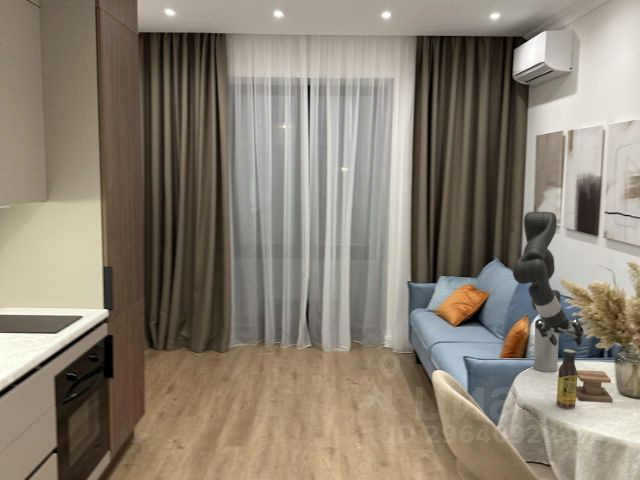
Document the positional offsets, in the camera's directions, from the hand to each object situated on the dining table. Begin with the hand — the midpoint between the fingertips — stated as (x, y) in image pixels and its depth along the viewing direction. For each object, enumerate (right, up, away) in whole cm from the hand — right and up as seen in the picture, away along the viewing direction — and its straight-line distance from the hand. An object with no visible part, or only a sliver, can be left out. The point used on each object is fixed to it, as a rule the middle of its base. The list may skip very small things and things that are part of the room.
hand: (567, 343), depth 207 cm
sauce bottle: (+1, -22, +3) cm, 23 cm away
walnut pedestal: (+14, -21, +12) cm, 28 cm away
